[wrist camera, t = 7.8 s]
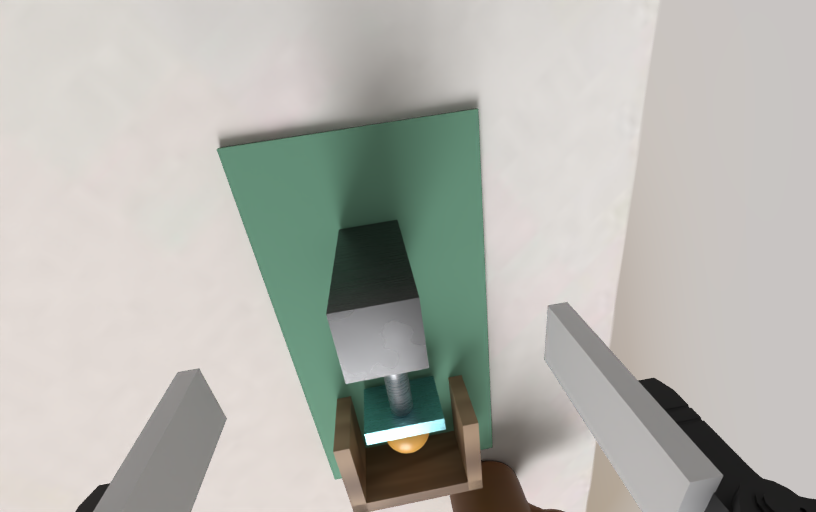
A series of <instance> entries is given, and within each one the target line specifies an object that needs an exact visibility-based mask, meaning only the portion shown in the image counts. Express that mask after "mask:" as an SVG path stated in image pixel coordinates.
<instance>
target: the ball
mask: <svg viewBox="0 0 816 512" xmlns="http://www.w3.org/2000/svg"><path fill="white" fill-rule="evenodd" d="M428 436H429V433H426V434H421V435H416V436H411V437H406V438H401V439H396V440H391V441H387V443H388V444H389V445H390V447H392V448H393V449H394V450H396V451H398V452H400V453H413V452H415V451H417V450H419V449H420V448H421V447H422V446H423V445H424V444H425V443H426V441H427V439H428Z"/></svg>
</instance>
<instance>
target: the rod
mask: <svg viewBox="0 0 816 512" xmlns="http://www.w3.org/2000/svg"><path fill="white" fill-rule="evenodd" d="M326 316H327V320H328V323H329V327H330V330H331V334H332V337H333V341H334V344H335V348H336V351H337V355H338V358H339V362H340V365H341V369H342V372H343V376H344V380H345V383H346V384H348V383H354V382H359V381H364V380H369V379H375V378H380V377H384V381H385V385H382V386H377V387H371V388H366V389H364V435H365V439H366V442H367V445H370V444H375V443H380V442H385V441H391V440H396V439H401V438H406V437H411V436H416V435H421V434H426V433H431V432H436V431H441V430H446V428H445V420H444V415H443V411H442V407H441V404H440V400H439V396H438V392H437V388H436V384H435V380H434V376H429V377H424V378H418V379H413V380H409V378H408V372H411V371H417V370H422V369H427V368H429V363H428V356H427V348H426V341H425V334H424V327H423V320H422V313H421V305H420V298H419V294H418V291H417V287H416V284H415V280H414V277H413V273H412V270H411V266H410V262H409V259H408V255H407V252H406V248H405V245H404V241H403V238H402V234H401V230H400V227H399V223H398V220H392V221H386V222H380V223H374V224H368V225H362V226H356V227H350V228H344V229H339V232H338V238H337V245H336V251H335V258H334V265H333V271H332V278H331V285H330V291H329V298H328V305H327V311H326Z"/></svg>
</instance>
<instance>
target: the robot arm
mask: <svg viewBox="0 0 816 512" xmlns="http://www.w3.org/2000/svg"><path fill="white" fill-rule="evenodd" d="M544 360H545V361H546V363H547V364H548V366H549V368H550V369H551V371H552V372H553V374H554V375H555V377H556V378H557V380H558V382H559V383H560V385H561V386H562V388H563V389H564V391H565V392H566V394H567V396H568V397H569V399H570V400H571V402H572V403H573V405H574V407H575V408H576V410H577V411H578V413H579V414H580V416H581V417H582V419H583V421H584V422H585V424H586V425H587V427H588V428H589V430H590V431H591V433H592V435H593V436H594V438H595V439H596V441H597V442H598V444H599V446H600V447H601V449H602V450H603V452H604V453H605V455H606V456H607V458H608V459H609V461H610V463H611V464H612V466H613V467H614V469H615V470H616V472H617V473H618V475H619V477H620V478H621V480H622V481H623V483H624V484H625V486H626V488H627V489H628V491H629V492H630V494H631V495H632V497H633V499H634V500H635V502H636V503H637V505H638V506H639V508H640V509H641V511H642V512H816V499H809V498H804V497H800V496H798V495H797V494H795V493H794V492H793V491H791V490H790V489H788V488H786V487H784V486H782V485H780V484H778V483H776V482H774V481H770V480H766V479H763V478H761V477H760V476H759V475H758V474H757V473H755V472H754V471H753V470H752V469H751V468H750V467H749V466H748V465H747V464H746V463H745V462H744V461H743V460H742V459H741V458H740V457H739V456H738V455H737V454H736V453H735V452H734V451H733V450H732V449H731V448H730V447H729V446H728V445H727V444H726V443H725V442H724V441H723V440H722V439H721V438H720V436H718V435H717V433H715V431H714V430H713V429H712V428H711V427H710V426H709V425H708V424H707V423H706V422H705V421H702V420H701V417H700V416H699V415H698V414H697V413H696V412H695V411H694V410H693V409H692V408H689V407H688V404H687V403H686V402H685V401H684V400H683V399H682V398H681V397H680V396H679V395H678V394H677V393H676V392H675V391H674V390H673V389H671V388H670V387H668V386H666V385H665V384H663V383H662V382H660V381H659V380H657V379H655V378H650V379H645V380H639V381H638V380H637V379H636V378H635V377H634V376H633V375H632V374H631V372H630V371H629V370H628V369H627V368H626V367H625V366H624V365H623V364H622V362H621V361H620V360H619V359H618V358H617V357H616V356H615V355H614V353H613V352H612V351H611V350H610V349H609V348H608V347H607V346H606V345H605V343H604V342H603V341H602V340H601V339H600V338H599V337H598V336H597V335H596V333H595V332H594V331H593V330H592V329H591V328H590V327H589V326H588V325H587V323H586V322H585V321H584V320H583V319H582V318H581V317H580V316H579V315H578V313H577V312H576V311H575V310H574V309H573V308H572V307H571V306H570V305H569V303H568V302H565V303H559V304H554V305H548V310H547V325H546V339H545V354H544ZM226 419H227V418H226V416H225V415H224V413H223V411H222V409H221V407H220V406H219V404H218V402H217V400H216V398H215V396H214V395H213V393H212V391H211V389H210V387H209V386H208V384H207V382H206V380H205V378H204V377H203V375H202V373H201V371H200V369H193V370H188V371H182V372H178V373H177V374H176V376H175V378H174V379H173V381H172V382H171V384H170V386H169V387H168V389H167V391H166V392H165V394H164V396H163V397H162V399H161V401H160V402H159V404H158V406H157V407H156V409H155V410H154V412H153V414H152V415H151V417H150V419H149V420H148V422H147V424H146V425H145V427H144V429H143V430H142V432H141V434H140V435H139V437H138V439H137V440H136V442H135V443H134V445H133V447H132V448H131V450H130V452H129V453H128V455H127V457H126V458H125V460H124V462H123V463H122V465H121V467H120V468H119V470H118V471H117V473H116V475H115V476H114V478H113V480H112V481H111V483H109V484H104V485H99V486H98V487H97V488H96V489H95V490H94V491H93V492H92V493H91V494H90V495H89V496H88V497H87V498H86V499H85V500H84V502H83V503H82V504H81V505H80V506H79V507H78V509H77V510H76V512H191V510H192V508H193V505H194V502H195V500H196V497H197V495H198V492H199V489H200V487H201V484H202V482H203V479H204V476H205V474H206V471H207V468H208V466H209V463H210V461H211V458H212V455H213V453H214V450H215V448H216V445H217V442H218V440H219V437H220V435H221V432H222V429H223V427H224V424H225V422H226Z"/></svg>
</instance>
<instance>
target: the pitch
mask: <svg viewBox="0 0 816 512" xmlns="http://www.w3.org/2000/svg"><path fill="white" fill-rule="evenodd" d="M217 152H218V154H219V157H220V160H221V163H222V165H223V168H224V171H225V174H226V177H227V179H228V182H229V185H230V188H231V191H232V193H233V196H234V199H235V202H236V205H237V207H238V210H239V213H240V216H241V218H242V221H243V224H244V227H245V230H246V232H247V235H248V238H249V241H250V244H251V246H252V249H253V252H254V255H255V258H256V260H257V263H258V266H259V269H260V271H261V274H262V277H263V280H264V283H265V285H266V288H267V291H268V294H269V297H270V299H271V302H272V305H273V308H274V311H275V313H276V316H277V319H278V322H279V324H280V327H281V330H282V333H283V336H284V338H285V341H286V344H287V347H288V350H289V352H290V355H291V358H292V361H293V363H294V366H295V369H296V372H297V375H298V377H299V380H300V383H301V386H302V389H303V391H304V394H305V397H306V400H307V403H308V405H309V408H310V411H311V414H312V416H313V419H314V422H315V425H316V428H317V430H318V433H319V436H320V439H321V442H322V444H323V447H324V450H325V453H326V456H327V458H328V461H329V464H330V467H331V469H332V472H333V475H334V478H335V479H340V478H342V476H341V473H340V470H339V468H338V465H337V462H336V459H335V456H334V453H333V447H334V434H335V420H336V407H337V399H339V398H344V397H349V396H351V398H352V402H353V406H354V409H355V413H356V416H357V420H358V423H359V427H360V430H361V434H362V438H363V441H364V445H365V448H370V447H375V446H380V445H385V444H388V443H387V441H385V442H380V443H375V444H370V445H367V442H366V439H365V435H364V389H366V388H371V387H377V386H382V385H385V381H384V377H380V378H375V379H369V380H364V381H359V382H354V383H348V384H346V383H345V380H344V376H343V372H342V369H341V365H340V362H339V358H338V355H337V351H336V348H335V344H334V341H333V337H332V334H331V330H330V327H329V323H328V320H327V316H326V311H327V305H328V298H329V291H330V285H331V278H332V271H333V265H334V258H335V251H336V245H337V238H338V232H339V229H344V228H350V227H356V226H362V225H368V224H374V223H380V222H386V221H392V220H398V223H399V227H400V230H401V234H402V238H403V241H404V245H405V248H406V252H407V255H408V259H409V262H410V266H411V270H412V273H413V277H414V280H415V284H416V287H417V291H418V294H419V298H420V305H421V313H422V320H423V327H424V334H425V341H426V348H427V356H428V363H429V368H427V369H422V370H417V371H411V372H408V378H409V380H413V379H418V378H424V377H429V376H434V380H435V384H436V388H437V392H438V396H439V400H440V404H441V407H442V411H443V415H444V420H445V428H446V430H441V431H436V432H431V433H429V436H430V435H435V434H440V433H445V432H450V431H454V426H453V417H452V408H451V399H450V389H449V380H448V377H454V376H459V375H462V378H463V381H464V383H465V386H466V389H467V392H468V395H469V398H470V400H471V403H472V406H473V409H474V412H475V415H476V417H477V420H478V424H479V439H480V450H483V449H488V448H492V424H491V401H490V377H489V353H488V329H487V305H486V282H485V258H484V234H483V210H482V186H481V163H480V139H479V115H478V109H470V110H464V111H457V112H451V113H444V114H438V115H431V116H425V117H418V118H411V119H405V120H398V121H392V122H385V123H379V124H372V125H366V126H359V127H353V128H346V129H340V130H333V131H327V132H320V133H314V134H307V135H300V136H294V137H287V138H281V139H274V140H268V141H261V142H255V143H248V144H242V145H235V146H229V147H222V148H218V149H217Z"/></svg>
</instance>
